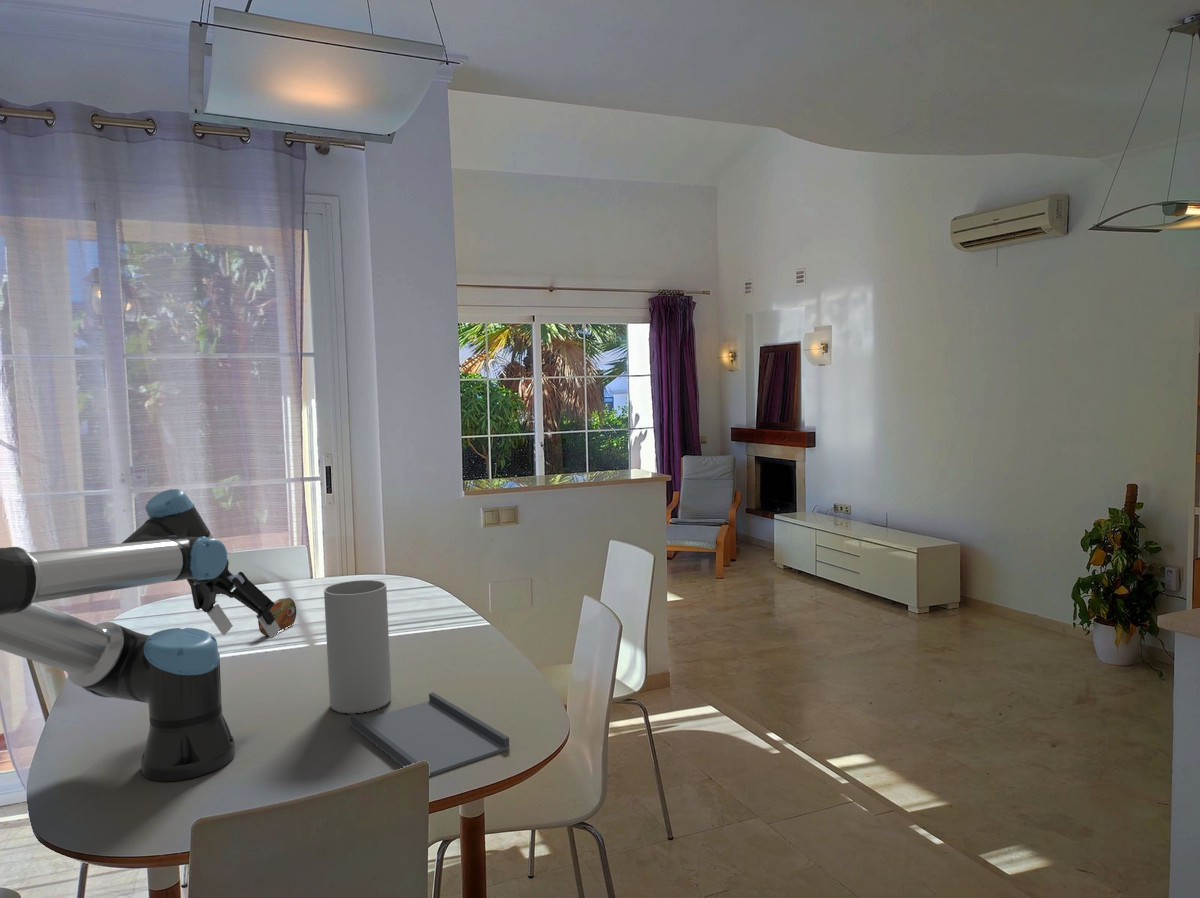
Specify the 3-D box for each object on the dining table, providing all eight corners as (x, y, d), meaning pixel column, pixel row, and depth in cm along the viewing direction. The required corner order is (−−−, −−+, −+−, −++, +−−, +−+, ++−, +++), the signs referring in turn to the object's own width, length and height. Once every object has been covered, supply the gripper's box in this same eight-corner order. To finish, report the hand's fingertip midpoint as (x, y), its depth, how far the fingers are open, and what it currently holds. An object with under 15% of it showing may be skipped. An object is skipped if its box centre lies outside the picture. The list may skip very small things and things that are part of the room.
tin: (267, 639, 224) (265, 608, 223) (256, 639, 224) (254, 608, 224) (298, 623, 238) (296, 594, 238) (288, 623, 239) (286, 594, 238)
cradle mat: (509, 749, 152) (508, 737, 152) (418, 780, 141) (417, 767, 141) (433, 702, 175) (433, 692, 175) (350, 725, 164) (350, 714, 164)
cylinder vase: (368, 688, 185) (363, 577, 183) (403, 700, 177) (398, 585, 175) (318, 706, 175) (312, 589, 173) (353, 720, 167) (346, 597, 165)
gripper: (260, 545, 166) (306, 621, 177) (171, 544, 176) (219, 616, 187) (236, 571, 160) (285, 648, 171) (145, 568, 170) (197, 641, 181)
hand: (251, 632), depth 179 cm, fingers open, 13 cm apart
